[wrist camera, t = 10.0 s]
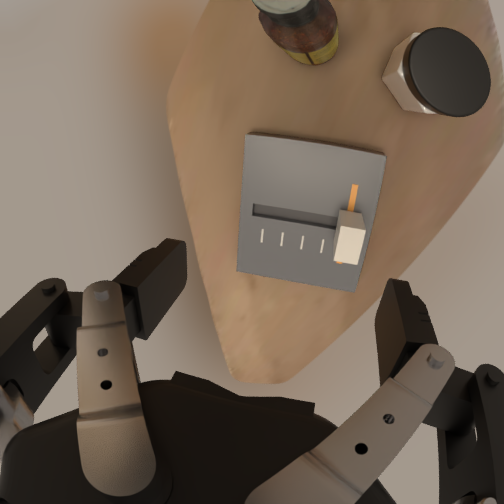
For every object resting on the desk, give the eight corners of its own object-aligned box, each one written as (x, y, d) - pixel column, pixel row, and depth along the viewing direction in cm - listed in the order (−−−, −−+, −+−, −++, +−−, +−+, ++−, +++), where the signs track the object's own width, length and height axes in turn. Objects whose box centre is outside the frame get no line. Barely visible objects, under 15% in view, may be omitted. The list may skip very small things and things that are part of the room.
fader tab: (339, 205, 36) (340, 225, 31) (360, 209, 36) (365, 230, 30) (333, 236, 38) (333, 260, 33) (354, 240, 38) (357, 265, 32)
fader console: (251, 131, 37) (245, 134, 34) (382, 152, 34) (386, 156, 31) (242, 260, 45) (236, 271, 43) (353, 280, 43) (354, 293, 40)
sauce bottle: (335, 19, 28) (339, -56, 11) (340, 66, 31) (352, 28, 14) (279, 20, 30) (231, -48, 12) (283, 67, 32) (237, 33, 15)
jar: (460, 95, 28) (508, 97, 18) (412, 126, 32) (446, 138, 21) (418, 33, 26) (453, 9, 16) (368, 63, 30) (386, 46, 19)
